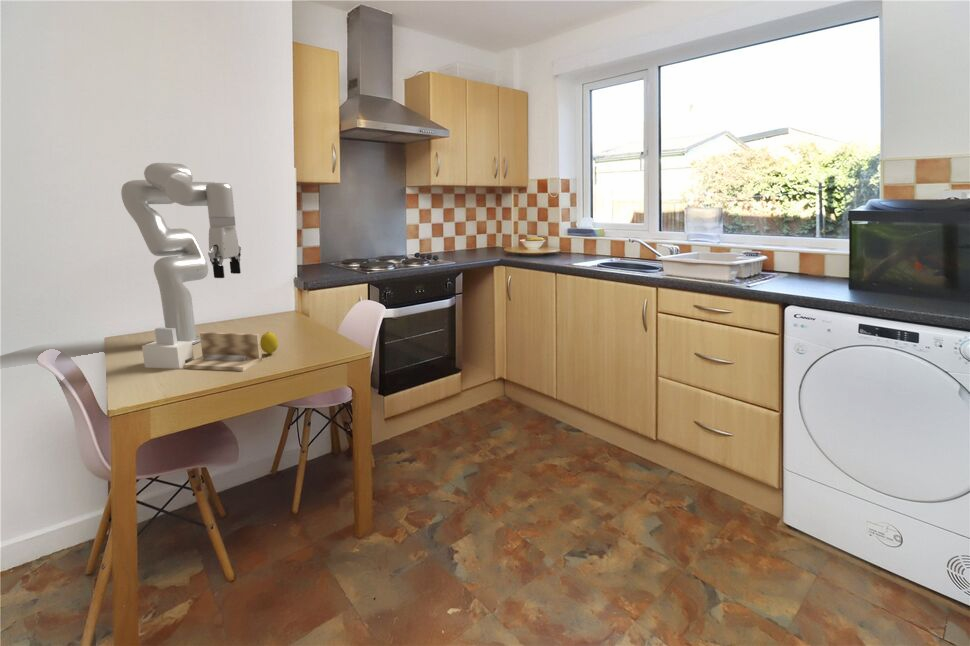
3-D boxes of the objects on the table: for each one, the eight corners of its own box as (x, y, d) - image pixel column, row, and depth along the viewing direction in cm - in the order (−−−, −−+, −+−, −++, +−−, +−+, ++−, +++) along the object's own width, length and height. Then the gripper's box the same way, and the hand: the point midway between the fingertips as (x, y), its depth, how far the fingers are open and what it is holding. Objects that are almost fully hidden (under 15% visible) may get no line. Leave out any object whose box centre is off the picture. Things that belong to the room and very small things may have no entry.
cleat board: (183, 368, 171) (180, 340, 169) (205, 358, 181) (202, 332, 179) (243, 371, 168) (240, 342, 166) (262, 360, 179) (259, 334, 177)
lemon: (272, 351, 189) (270, 329, 187) (282, 353, 186) (280, 331, 184) (258, 355, 185) (255, 332, 183) (268, 357, 182) (265, 334, 180)
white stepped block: (145, 367, 172) (139, 330, 169) (160, 360, 179) (155, 325, 176) (179, 369, 170) (174, 331, 168) (194, 362, 177) (189, 326, 174)
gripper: (226, 220, 183) (231, 271, 187) (194, 223, 166) (201, 279, 170) (247, 221, 182) (252, 272, 186) (218, 224, 165) (224, 280, 170)
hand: (227, 275), depth 178 cm, fingers open, 9 cm apart
